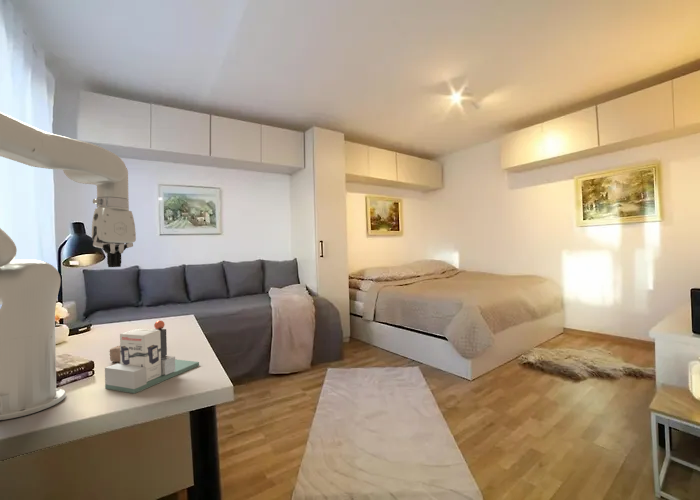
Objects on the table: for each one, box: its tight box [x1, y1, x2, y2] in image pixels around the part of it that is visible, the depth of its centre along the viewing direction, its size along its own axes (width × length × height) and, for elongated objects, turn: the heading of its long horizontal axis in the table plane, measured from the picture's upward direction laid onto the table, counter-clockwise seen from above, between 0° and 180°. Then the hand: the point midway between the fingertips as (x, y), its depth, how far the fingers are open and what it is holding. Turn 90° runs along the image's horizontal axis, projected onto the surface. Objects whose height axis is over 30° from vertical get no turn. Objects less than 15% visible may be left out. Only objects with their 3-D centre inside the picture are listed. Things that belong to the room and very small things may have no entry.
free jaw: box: [153, 320, 176, 375], centre depth 85 cm, size 4×10×13 cm, turn 70°
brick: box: [109, 345, 120, 363], centre depth 104 cm, size 17×8×5 cm, turn 10°
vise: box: [104, 358, 200, 394], centre depth 84 cm, size 19×10×5 cm, turn 160°
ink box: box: [119, 328, 161, 382], centre depth 80 cm, size 8×5×12 cm, turn 73°
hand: (114, 266), depth 94 cm, fingers closed
